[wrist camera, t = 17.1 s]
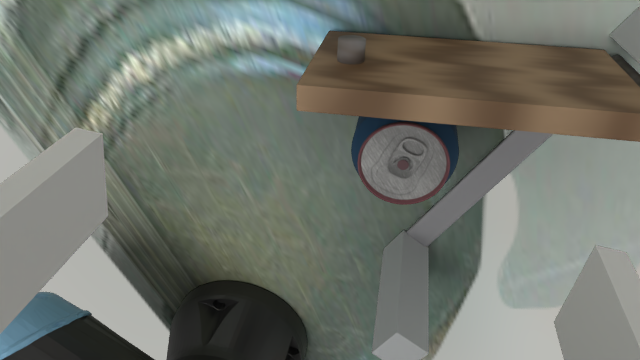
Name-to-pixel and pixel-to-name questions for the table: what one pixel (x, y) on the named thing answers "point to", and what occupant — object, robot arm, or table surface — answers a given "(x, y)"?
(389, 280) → the gray u-shaped frame
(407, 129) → the soda can
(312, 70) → the door
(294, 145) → the table surface
